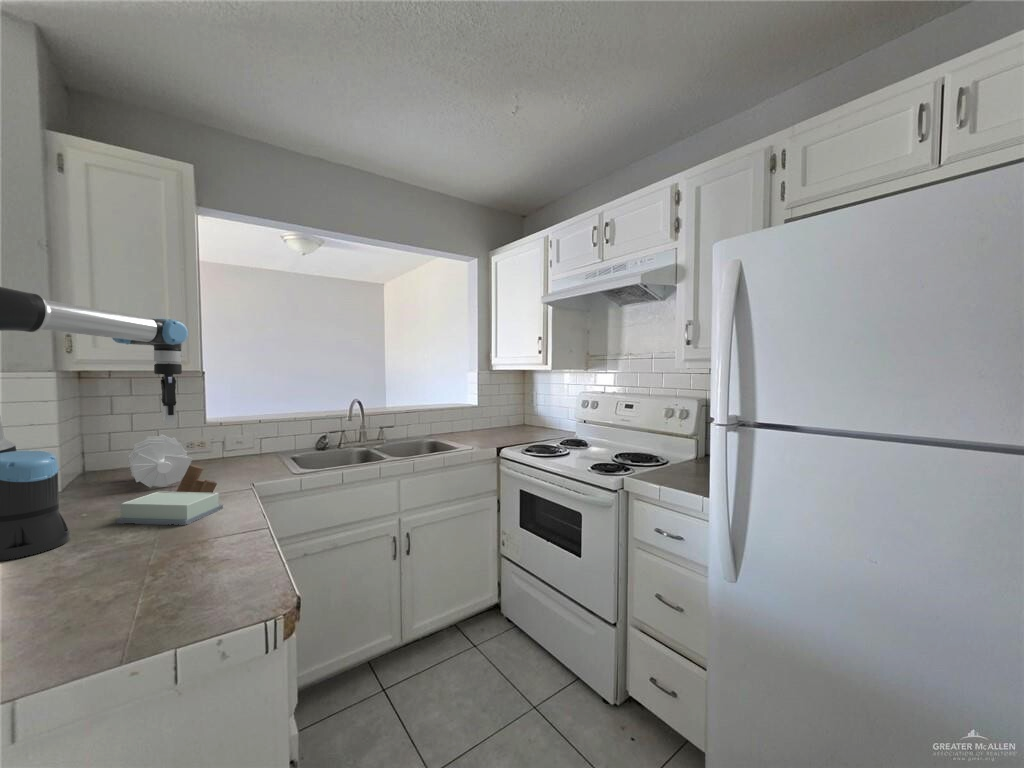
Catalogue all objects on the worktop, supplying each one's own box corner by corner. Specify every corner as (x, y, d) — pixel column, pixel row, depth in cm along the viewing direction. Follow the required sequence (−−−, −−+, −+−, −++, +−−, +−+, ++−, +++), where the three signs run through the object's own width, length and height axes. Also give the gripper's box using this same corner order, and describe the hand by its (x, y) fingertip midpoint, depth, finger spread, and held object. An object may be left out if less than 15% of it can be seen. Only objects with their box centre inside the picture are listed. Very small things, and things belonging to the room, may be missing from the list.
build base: (185, 525, 117) (185, 506, 117) (115, 523, 118) (115, 504, 118) (222, 508, 131) (222, 491, 131) (160, 507, 132) (159, 490, 132)
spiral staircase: (149, 502, 149) (142, 484, 166) (203, 473, 160) (191, 460, 177) (117, 460, 142) (114, 447, 160) (176, 434, 153) (167, 424, 170)
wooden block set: (212, 506, 140) (226, 477, 143) (183, 502, 134) (198, 471, 136) (198, 493, 152) (211, 466, 154) (170, 489, 145) (184, 461, 148)
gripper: (185, 363, 140) (186, 425, 140) (177, 363, 158) (178, 418, 158) (156, 362, 134) (157, 427, 135) (151, 363, 152) (152, 420, 153)
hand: (168, 422), depth 147 cm, fingers open, 13 cm apart
